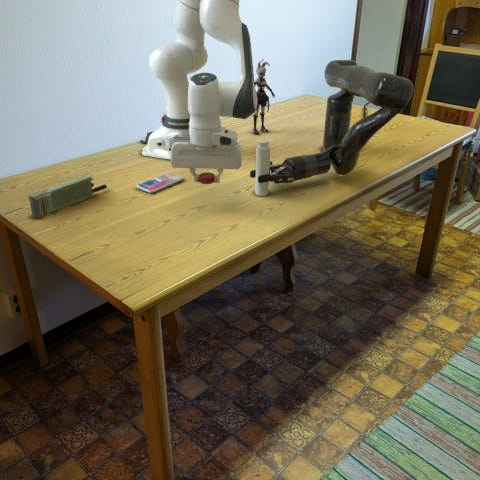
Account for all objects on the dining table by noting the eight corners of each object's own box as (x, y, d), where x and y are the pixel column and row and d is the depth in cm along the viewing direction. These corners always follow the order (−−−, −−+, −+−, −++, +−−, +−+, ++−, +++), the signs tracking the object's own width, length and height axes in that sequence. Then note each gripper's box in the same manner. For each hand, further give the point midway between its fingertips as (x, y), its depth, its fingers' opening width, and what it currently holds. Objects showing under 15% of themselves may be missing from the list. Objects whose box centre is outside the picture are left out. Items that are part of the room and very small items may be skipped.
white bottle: (267, 196, 157) (270, 143, 149) (254, 195, 158) (256, 143, 149) (268, 190, 161) (270, 139, 153) (255, 190, 161) (257, 138, 153)
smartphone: (184, 177, 167) (150, 191, 157) (184, 180, 167) (151, 194, 157) (168, 171, 171) (134, 185, 161) (168, 174, 171) (135, 188, 161)
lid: (197, 179, 148) (197, 173, 147) (213, 177, 149) (213, 171, 148) (200, 185, 144) (200, 178, 143) (216, 183, 145) (216, 177, 144)
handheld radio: (30, 215, 144) (102, 188, 161) (37, 219, 142) (109, 191, 159) (26, 193, 140) (100, 168, 157) (33, 197, 138) (107, 171, 155)
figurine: (251, 137, 208) (253, 60, 193) (241, 133, 211) (242, 58, 197) (276, 130, 216) (279, 56, 202) (266, 126, 220) (268, 54, 205)
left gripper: (166, 138, 138) (169, 185, 145) (240, 139, 137) (241, 187, 143) (170, 131, 143) (173, 177, 150) (242, 132, 142) (242, 178, 149)
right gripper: (288, 149, 166) (243, 158, 159) (314, 163, 155) (267, 173, 148) (287, 171, 170) (242, 180, 162) (312, 186, 159) (266, 196, 151)
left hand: (207, 181), depth 147 cm, fingers closed on lid, 4 cm apart
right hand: (254, 177), depth 155 cm, fingers closed on white bottle, 4 cm apart
